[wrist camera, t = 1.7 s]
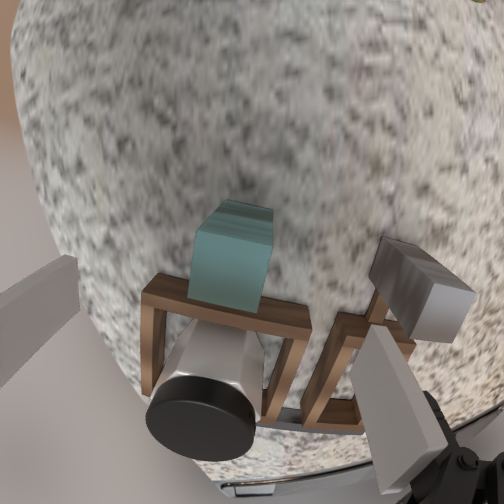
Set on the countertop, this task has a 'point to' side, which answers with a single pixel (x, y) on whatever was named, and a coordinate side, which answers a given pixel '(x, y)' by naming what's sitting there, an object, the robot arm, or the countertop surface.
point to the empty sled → (387, 325)
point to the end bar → (299, 423)
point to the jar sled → (227, 297)
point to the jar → (209, 393)
